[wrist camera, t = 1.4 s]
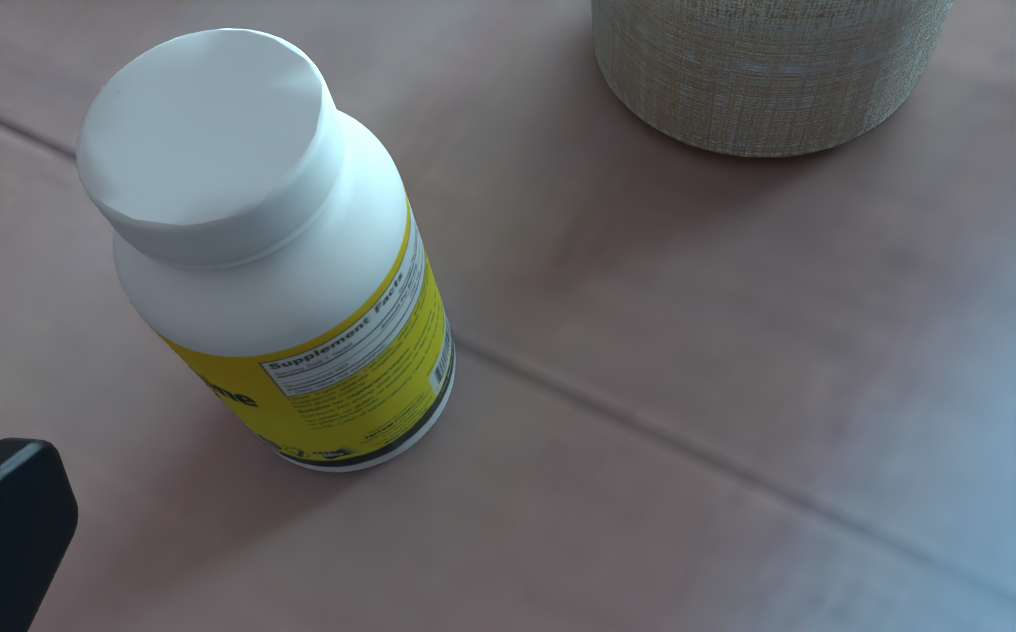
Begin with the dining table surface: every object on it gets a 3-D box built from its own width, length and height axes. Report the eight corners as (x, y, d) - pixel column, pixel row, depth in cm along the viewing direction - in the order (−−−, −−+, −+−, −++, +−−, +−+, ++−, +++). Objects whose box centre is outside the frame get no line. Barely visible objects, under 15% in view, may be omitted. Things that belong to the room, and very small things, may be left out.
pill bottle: (217, 347, 26) (-7, 86, 17) (400, 250, 28) (288, -49, 18) (297, 523, 24) (84, 329, 14) (499, 408, 25) (429, 152, 15)
